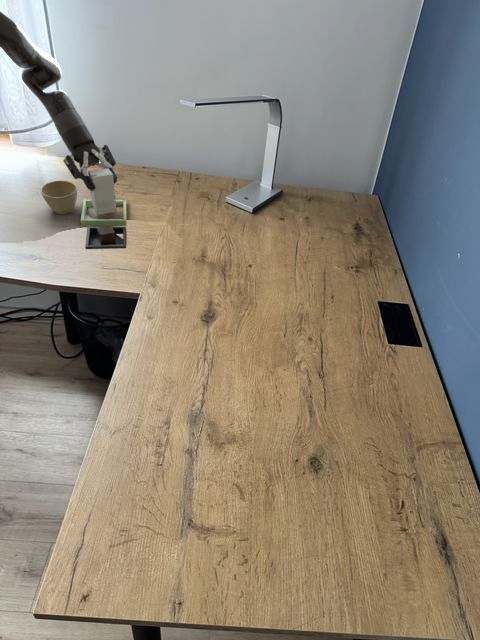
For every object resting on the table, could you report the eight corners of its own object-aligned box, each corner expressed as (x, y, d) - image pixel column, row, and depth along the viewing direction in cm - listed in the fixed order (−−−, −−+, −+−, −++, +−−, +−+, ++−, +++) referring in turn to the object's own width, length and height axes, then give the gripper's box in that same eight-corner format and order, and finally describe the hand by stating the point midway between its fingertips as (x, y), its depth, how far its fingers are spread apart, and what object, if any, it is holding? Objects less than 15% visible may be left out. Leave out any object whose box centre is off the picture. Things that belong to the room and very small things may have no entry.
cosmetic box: (111, 204, 152) (108, 166, 144) (117, 212, 150) (114, 174, 141) (91, 208, 150) (87, 169, 141) (96, 215, 147) (92, 177, 139)
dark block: (101, 247, 138) (99, 234, 136) (98, 239, 141) (96, 227, 138) (116, 245, 140) (114, 232, 137) (112, 237, 142) (111, 225, 140)
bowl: (41, 217, 148) (35, 195, 143) (52, 200, 155) (47, 178, 150) (75, 220, 148) (70, 198, 143) (85, 203, 155) (81, 181, 150)
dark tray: (86, 255, 136) (85, 246, 134) (88, 234, 143) (87, 226, 142) (126, 254, 138) (126, 246, 136) (126, 234, 146) (126, 226, 144)
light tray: (81, 228, 145) (80, 220, 144) (84, 207, 154) (83, 199, 152) (126, 228, 148) (126, 220, 146) (126, 207, 157) (126, 200, 155)
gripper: (54, 129, 133) (88, 187, 136) (99, 119, 142) (130, 174, 145) (46, 143, 138) (78, 198, 142) (89, 132, 147) (119, 184, 151)
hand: (104, 186), depth 143 cm, fingers closed on cosmetic box, 7 cm apart
